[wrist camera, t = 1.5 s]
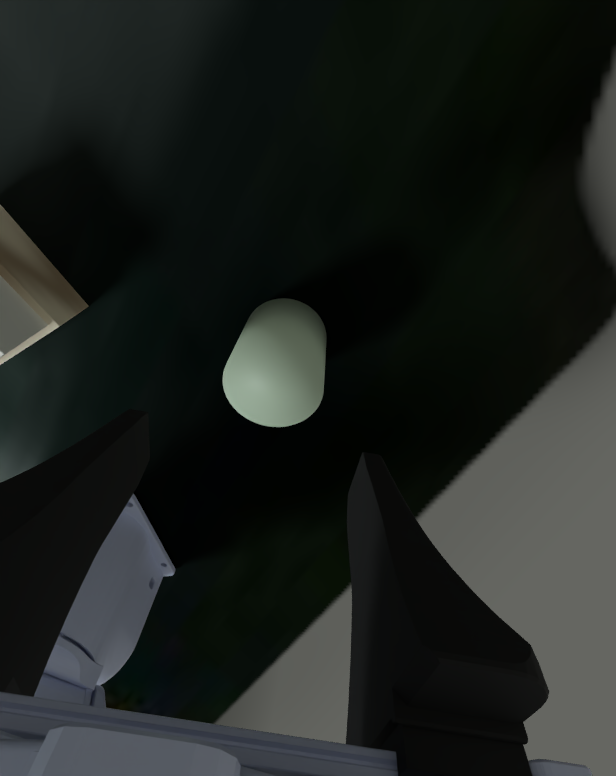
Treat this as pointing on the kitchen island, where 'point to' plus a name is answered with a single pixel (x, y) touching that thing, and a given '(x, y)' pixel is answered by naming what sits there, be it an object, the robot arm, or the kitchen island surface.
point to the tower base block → (34, 281)
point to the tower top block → (16, 319)
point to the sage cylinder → (278, 364)
